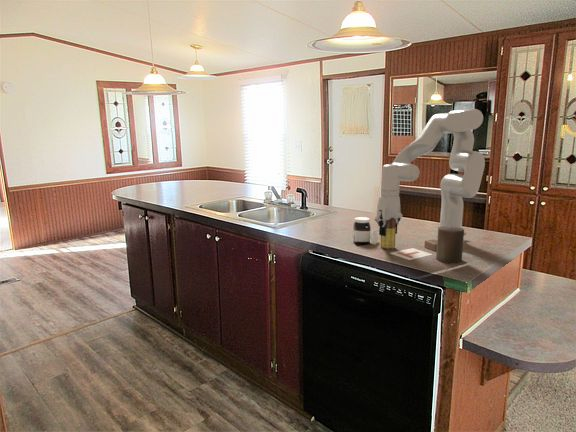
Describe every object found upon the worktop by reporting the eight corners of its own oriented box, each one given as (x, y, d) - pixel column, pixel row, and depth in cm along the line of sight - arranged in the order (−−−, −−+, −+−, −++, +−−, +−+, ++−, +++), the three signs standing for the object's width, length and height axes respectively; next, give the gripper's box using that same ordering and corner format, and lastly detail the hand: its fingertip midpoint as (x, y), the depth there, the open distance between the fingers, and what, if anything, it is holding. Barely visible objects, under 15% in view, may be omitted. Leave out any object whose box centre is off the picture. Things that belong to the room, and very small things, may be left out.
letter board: (412, 249, 183) (412, 248, 183) (432, 256, 174) (432, 254, 173) (389, 254, 176) (389, 253, 175) (409, 261, 166) (409, 259, 166)
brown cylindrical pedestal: (461, 266, 160) (464, 228, 157) (434, 263, 164) (437, 226, 161) (461, 259, 169) (464, 223, 166) (436, 256, 173) (439, 221, 170)
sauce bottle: (384, 246, 188) (386, 203, 183) (397, 249, 184) (399, 204, 180) (377, 250, 183) (379, 205, 179) (390, 252, 179) (393, 207, 175)
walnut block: (434, 247, 186) (435, 239, 185) (444, 251, 181) (445, 242, 180) (424, 249, 184) (424, 240, 183) (433, 253, 179) (434, 244, 178)
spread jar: (351, 240, 199) (352, 216, 197) (375, 239, 199) (376, 216, 197) (355, 247, 188) (356, 221, 185) (380, 247, 188) (381, 221, 185)
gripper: (397, 190, 185) (395, 230, 189) (368, 194, 177) (367, 235, 180) (410, 192, 179) (408, 233, 183) (381, 196, 170) (379, 239, 174)
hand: (388, 233), depth 182 cm, fingers closed on sauce bottle, 6 cm apart
